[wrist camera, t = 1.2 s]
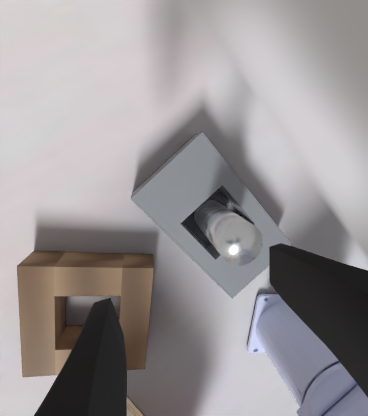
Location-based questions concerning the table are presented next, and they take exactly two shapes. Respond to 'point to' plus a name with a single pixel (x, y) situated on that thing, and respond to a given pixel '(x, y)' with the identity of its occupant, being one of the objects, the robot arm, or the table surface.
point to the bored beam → (193, 197)
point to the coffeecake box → (132, 409)
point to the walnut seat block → (79, 286)
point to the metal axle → (229, 233)
